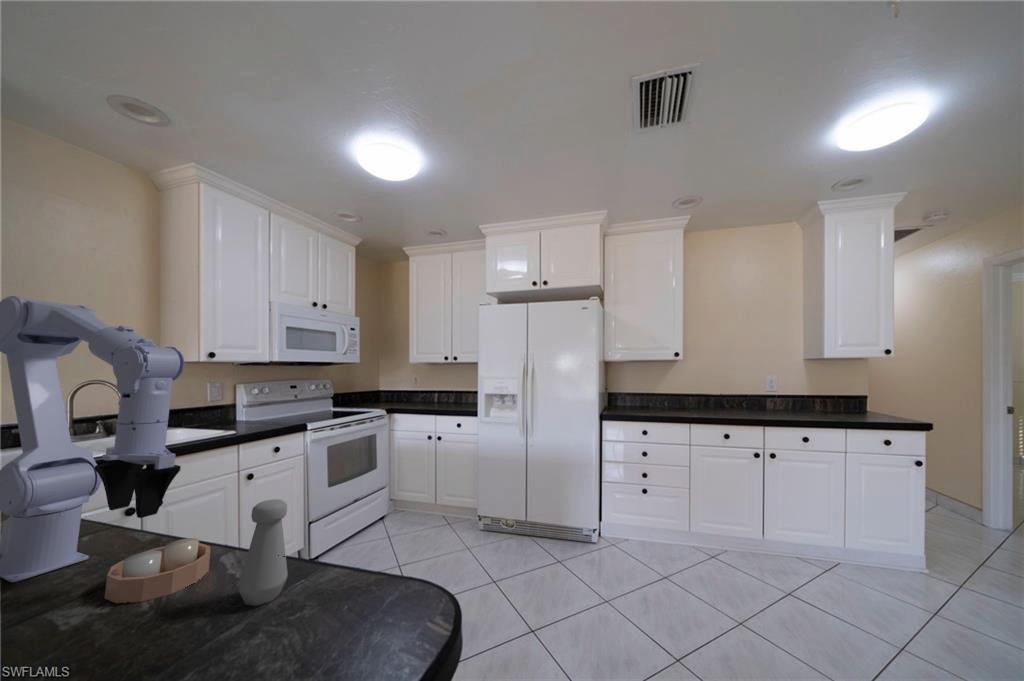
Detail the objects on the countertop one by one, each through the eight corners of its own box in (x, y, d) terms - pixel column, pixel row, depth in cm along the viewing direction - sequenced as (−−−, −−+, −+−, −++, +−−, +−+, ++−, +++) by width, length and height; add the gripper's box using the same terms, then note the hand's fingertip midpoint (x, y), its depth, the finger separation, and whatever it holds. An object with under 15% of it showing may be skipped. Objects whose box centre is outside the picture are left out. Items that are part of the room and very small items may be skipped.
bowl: (89, 591, 53) (91, 569, 53) (181, 556, 63) (183, 538, 64) (133, 610, 49) (136, 586, 49) (224, 570, 59) (226, 550, 60)
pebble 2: (156, 573, 57) (159, 546, 58) (186, 561, 61) (189, 536, 61) (171, 579, 56) (174, 551, 56) (202, 566, 59) (204, 540, 60)
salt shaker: (261, 613, 49) (270, 510, 50) (225, 606, 50) (235, 507, 51) (295, 588, 55) (302, 497, 56) (262, 583, 56) (270, 494, 57)
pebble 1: (148, 576, 56) (151, 548, 57) (165, 581, 55) (168, 553, 55) (113, 590, 53) (116, 560, 53) (130, 596, 51) (133, 565, 52)
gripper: (83, 421, 57) (71, 513, 56) (136, 428, 52) (124, 529, 51) (142, 417, 64) (132, 499, 62) (194, 422, 59) (185, 512, 57)
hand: (132, 511), depth 57 cm, fingers open, 7 cm apart
